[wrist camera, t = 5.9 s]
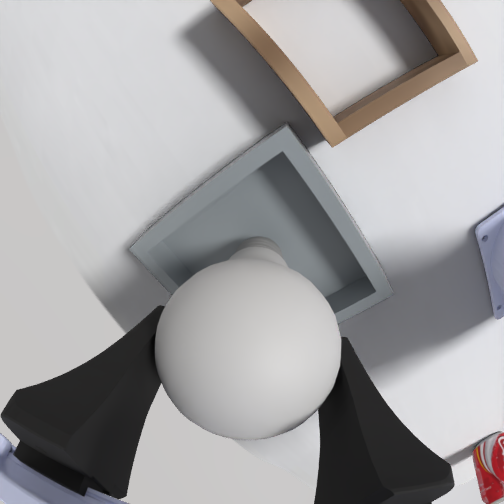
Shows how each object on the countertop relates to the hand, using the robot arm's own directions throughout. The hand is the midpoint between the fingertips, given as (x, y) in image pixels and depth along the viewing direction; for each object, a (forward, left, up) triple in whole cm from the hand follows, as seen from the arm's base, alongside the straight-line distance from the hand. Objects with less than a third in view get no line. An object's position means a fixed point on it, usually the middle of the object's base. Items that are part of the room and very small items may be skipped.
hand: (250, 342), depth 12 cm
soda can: (-48, -10, -8) cm, 50 cm away
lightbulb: (0, 0, -7) cm, 7 cm away
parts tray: (0, 0, -8) cm, 8 cm away
